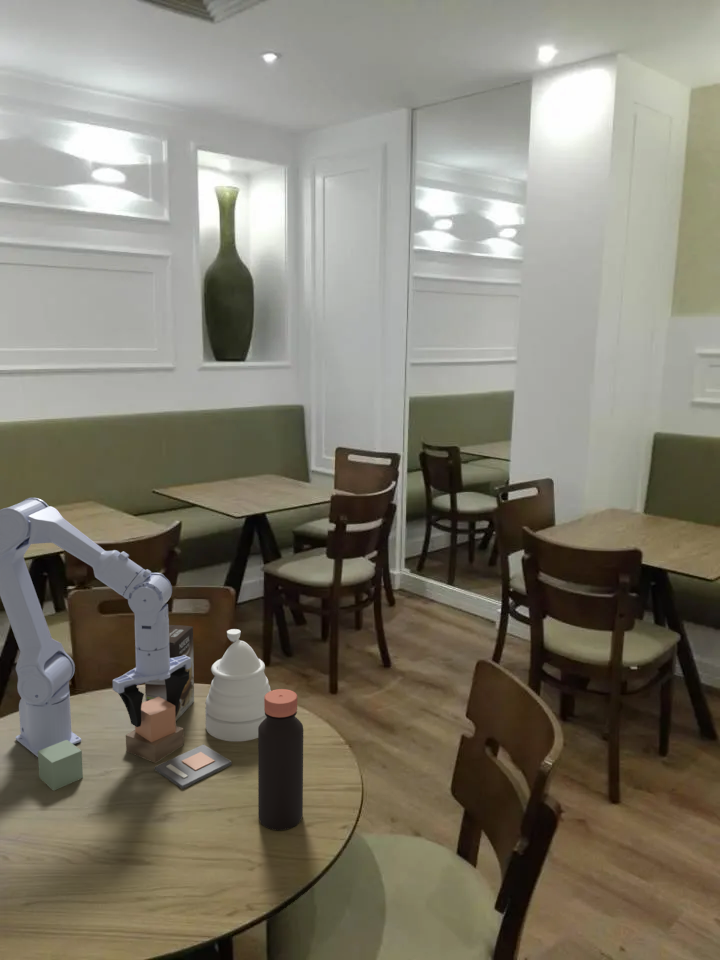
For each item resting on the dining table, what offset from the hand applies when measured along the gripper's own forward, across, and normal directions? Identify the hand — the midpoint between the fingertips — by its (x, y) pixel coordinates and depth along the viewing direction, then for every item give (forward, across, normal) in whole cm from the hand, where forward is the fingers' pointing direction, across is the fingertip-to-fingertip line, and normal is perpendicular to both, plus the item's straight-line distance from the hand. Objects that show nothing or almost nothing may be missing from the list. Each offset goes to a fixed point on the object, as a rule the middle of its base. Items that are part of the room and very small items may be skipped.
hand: (154, 717), depth 132 cm
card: (+6, +1, -10) cm, 12 cm away
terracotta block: (+3, 0, 0) cm, 3 cm away
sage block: (+6, -16, +3) cm, 17 cm away
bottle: (+6, +2, -31) cm, 32 cm away
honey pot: (+6, +16, -4) cm, 18 cm away
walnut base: (+6, 0, 0) cm, 6 cm away
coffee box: (+6, +10, +10) cm, 15 cm away
